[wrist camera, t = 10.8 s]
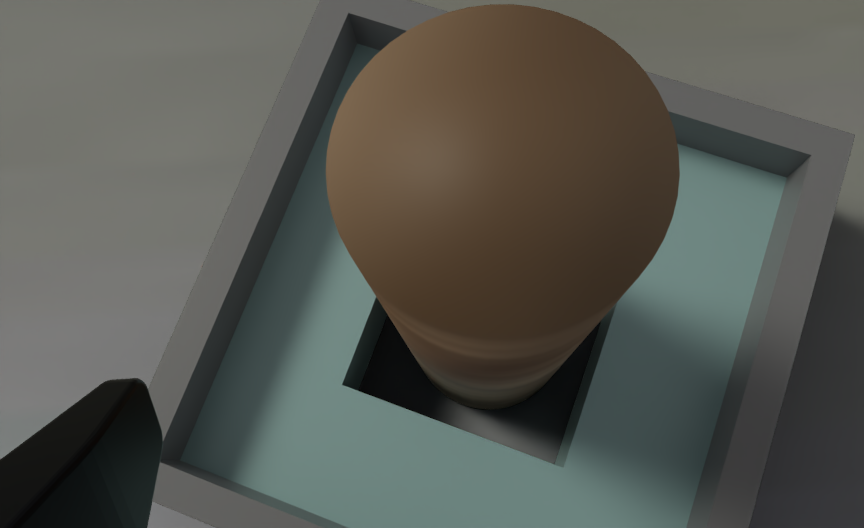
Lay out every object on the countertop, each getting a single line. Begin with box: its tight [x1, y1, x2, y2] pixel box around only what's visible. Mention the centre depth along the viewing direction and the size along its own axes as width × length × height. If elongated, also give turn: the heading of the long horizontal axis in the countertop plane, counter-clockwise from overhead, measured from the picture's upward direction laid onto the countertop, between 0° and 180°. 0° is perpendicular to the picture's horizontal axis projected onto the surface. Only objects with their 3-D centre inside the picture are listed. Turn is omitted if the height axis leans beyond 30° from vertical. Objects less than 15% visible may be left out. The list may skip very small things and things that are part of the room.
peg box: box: [148, 0, 855, 528], centre depth 20 cm, size 13×13×4 cm
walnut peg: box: [326, 5, 680, 409], centre depth 15 cm, size 4×4×13 cm
